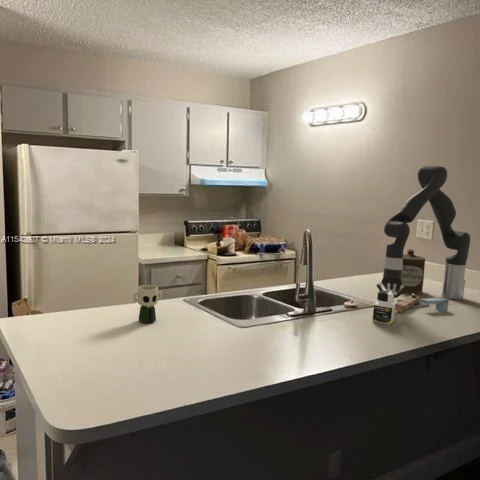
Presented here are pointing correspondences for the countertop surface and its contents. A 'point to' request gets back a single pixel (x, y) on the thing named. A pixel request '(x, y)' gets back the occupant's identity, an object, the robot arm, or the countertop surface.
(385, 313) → the medicine bottle
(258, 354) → the countertop surface
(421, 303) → the pivot base
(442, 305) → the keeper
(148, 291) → the character mug
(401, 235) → the robot arm
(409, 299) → the link
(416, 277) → the wooden container
